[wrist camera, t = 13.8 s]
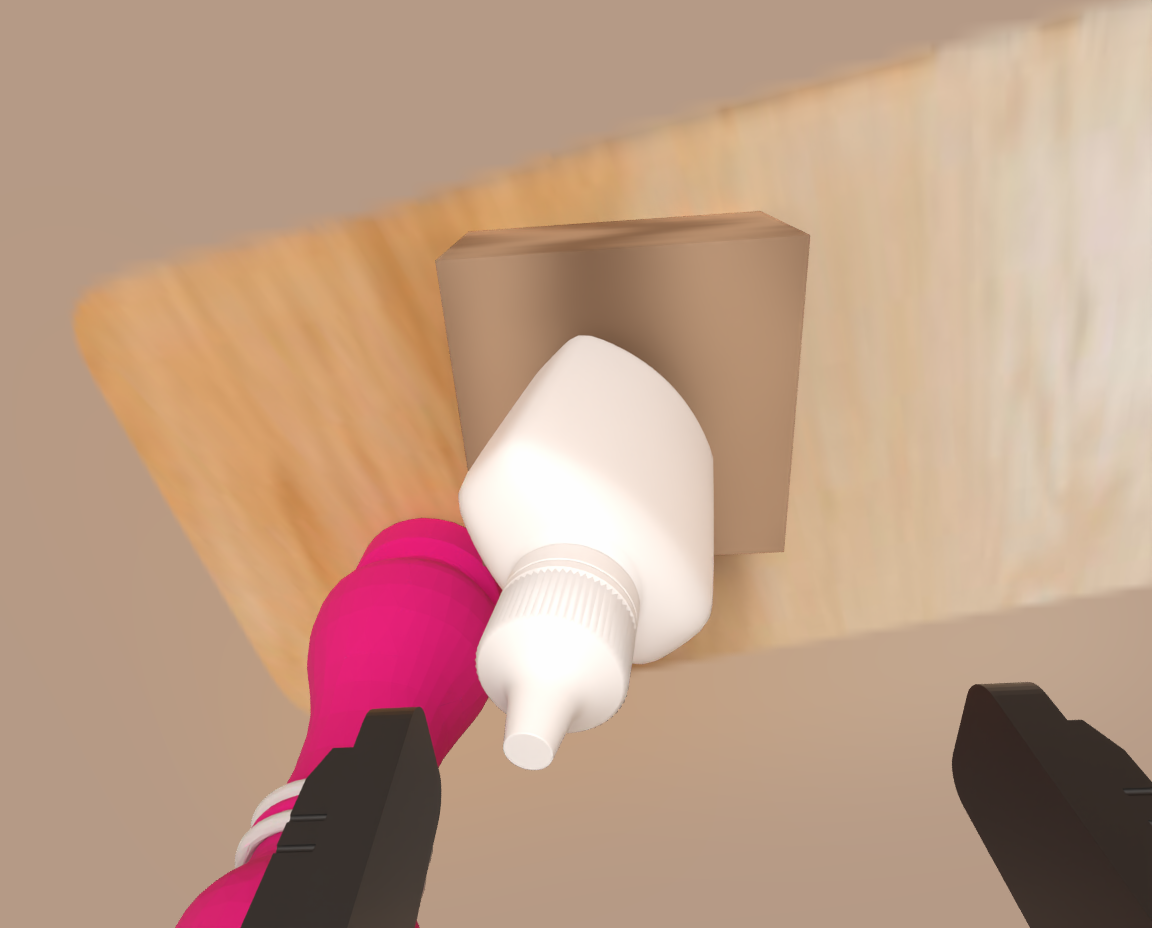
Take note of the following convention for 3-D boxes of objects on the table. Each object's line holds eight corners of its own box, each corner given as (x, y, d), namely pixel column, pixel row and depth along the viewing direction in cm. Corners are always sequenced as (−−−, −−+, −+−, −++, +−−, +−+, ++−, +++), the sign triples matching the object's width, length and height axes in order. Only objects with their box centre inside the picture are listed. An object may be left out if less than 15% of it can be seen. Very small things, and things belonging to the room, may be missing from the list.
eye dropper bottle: (584, 512, 21) (461, 888, 11) (525, 346, 19) (299, 610, 9) (722, 485, 20) (735, 882, 10) (674, 303, 18) (624, 553, 7)
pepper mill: (521, 638, 31) (432, 1317, 13) (367, 641, 32) (80, 1314, 14) (507, 503, 28) (367, 1161, 10) (336, 508, 28) (-93, 1159, 10)
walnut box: (758, 210, 23) (810, 235, 18) (745, 469, 28) (784, 551, 22) (470, 230, 24) (435, 260, 18) (503, 482, 28) (483, 566, 23)
